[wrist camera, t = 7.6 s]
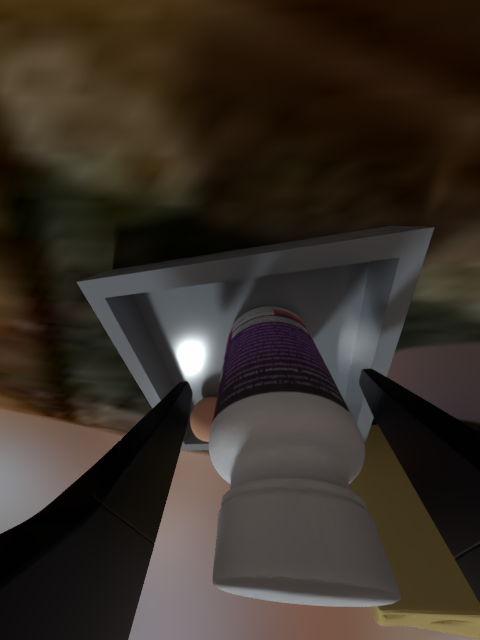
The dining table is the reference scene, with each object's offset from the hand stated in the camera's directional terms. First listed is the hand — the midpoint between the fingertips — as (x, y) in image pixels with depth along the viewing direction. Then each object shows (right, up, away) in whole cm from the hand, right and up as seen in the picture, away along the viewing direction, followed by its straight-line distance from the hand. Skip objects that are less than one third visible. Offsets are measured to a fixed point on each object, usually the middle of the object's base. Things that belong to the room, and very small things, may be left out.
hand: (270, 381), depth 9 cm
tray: (0, 0, +5) cm, 5 cm away
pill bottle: (0, +2, +3) cm, 4 cm away
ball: (-4, -4, +7) cm, 9 cm away
